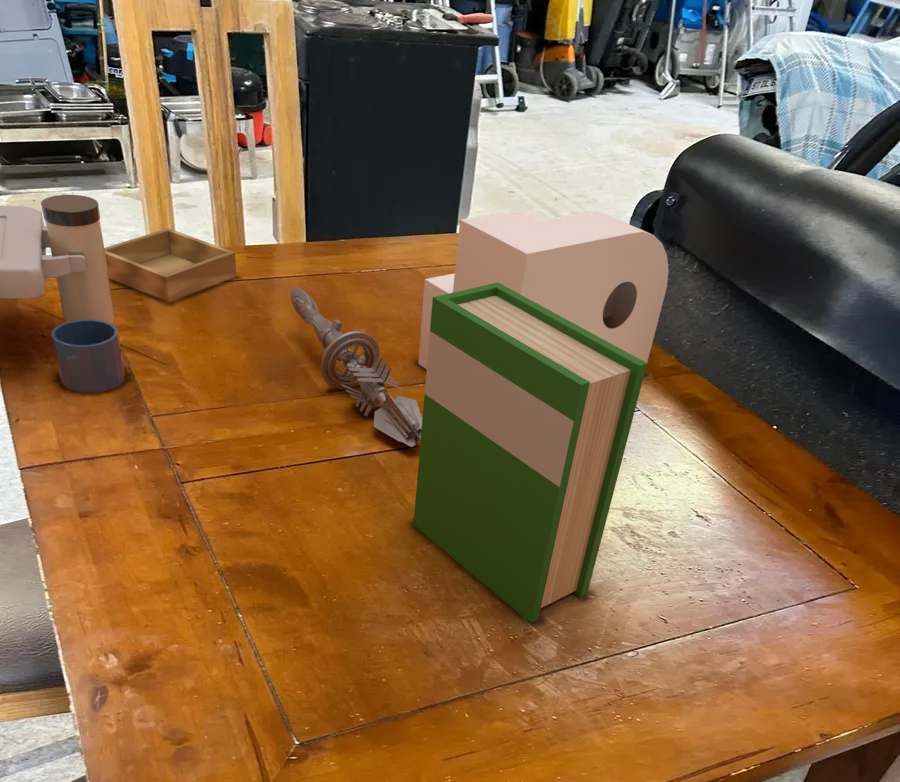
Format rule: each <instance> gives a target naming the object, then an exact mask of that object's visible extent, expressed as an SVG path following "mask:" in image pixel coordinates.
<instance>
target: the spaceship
mask: <svg viewBox="0 0 900 782" xmlns="http://www.w3.org/2000/svg"><path fill="white" fill-rule="evenodd" d="M290 300H291V304H292V306H293V309H294V310H295V312H296V313H297V314H298V315H299V317H300V318H301V319H302V320H303V321H304V323H305V324H310V325H311V326H312V328H313V330H314V332H315V334H316V337H317V340H318V341H319V342H320V343H321V349H320V350H321V354H322V357H321V362H320V373H321V376H322V378H323V380H324V382H325V383H326V384H327V385H328V386H330V387H332V388H333V389H337V390H345V391H346V392H347V393H349V396H350V397H351V398H353V399H355V400H356V403H355V407H356V408H359V411H360V413H363V415H364V417H366V418H367V417H369V415H370V414H371V412H372V410H373V409H374V408H375V407H380V408H378V409H377V410H375V411H374V414H373V415H374V417H373V428H375V429H377V430H378V431H380V432H382V433H383V434H386V435H387V436H388V437H390V438H392V439H394V440H395V441H397V442H399V443H403V444H405V445H406V446H408V447H410V448H413V447H415V446H416V447H417V448H418V449H420V443H419V440H420V439H421V430H422V418H423V415H422V413H421V410H420V408H419V404H418V401H417V399H414V398H409V397H405V396H401V395H399V396H397V397H395V398H393V397H392V396H391V394H389V393H388V390H387V387H386V385H387V384H388V385H390V386H393V387H394V388H397V389H399V390H401V391H404V389H403V387H401V386H400V383H398V382H396V379H395V378H394V377H392V376H390V373H391V371H392V368H391V366H387V364H388V363H387V362H386V361H382V360H383V357H382V356H381V355H380V354H381V353H380V346H379V344H378V341H377V340H376V338H375V337H374V336H373V335H371V334H370V333H368V332H366V331H361V330H352V331H347V332H345V333H343V332H342V331H341V329H342V327H343V323H342V322H341V320H339V319H333V321H331V320H329V319H327V318H325V317H324V316H323V315H322V314H321V313H320V311H319V308H318V306H317V303H316V302H315V300H314V298H312V297H311V295H310V294H309V292H307V291H306V290H305V289H304V288H301V287H300V286H299V287H298V286H295V287H293V288H292V289H291V291H290ZM352 347H354V348H353V349H352V350H353V351H352V350H351V348H352ZM359 347H360V348H362V349H363V351H362V352H361V353H359V354H357V353H358V350H359ZM337 361H338V362H342V364H340V365H339V366H337V367H336V365H337ZM385 368H386V369H385ZM342 370H344V371H343V372H342V373H340V371H342ZM357 387H360V389H361V390H360V391H359V390H357V389H356V388H357ZM354 388H355V389H354Z"/></svg>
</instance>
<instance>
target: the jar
mask: <svg viewBox="0 0 900 782" xmlns="http://www.w3.org/2000/svg"><path fill="white" fill-rule="evenodd" d="M40 206H41V213H42V216H43V220H44V223H45V226H46V228H47V233H48V238H49V243H50V248H49V249H50V253H51V254H50V255H52V256H53V257H56V256H64V255H69V253H80V252H82V253H84V254H85V257H86V263H87V270H86V271H85V272H71V273H69V274H66V275H63V276H59V277H56V278H55V280H56V285H57V291H58V294H59V301H60V306H61V307H60V308H61V312H62V316H63V321H64V323H66V322H69V321H74V320H81V319H93V320H100V321H105V322H108V323H110V324H112V323H113V322H114V321H115V318H116V317H115V311H114V304H113V298H112V292H111V285H110V284H111V283H110V278H109V277H108V270H107V264H106V257H105V251H104V248H105V244H104V238H103V230H102V225H101V211H100V205H99V202H98V200H96V199H95V198H92V197H90V196H86V195H81V194H58V195H52V196H48V197H46V198H44V199H43V200H41V202H40Z"/></svg>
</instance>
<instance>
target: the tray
mask: <svg viewBox="0 0 900 782" xmlns="http://www.w3.org/2000/svg"><path fill="white" fill-rule="evenodd" d="M104 251H105V257H106V264H107V270H108V277H109V280H113V281H115V282H117V283H120V284H122V285H125V286H128V287H130V288H132V289H134V290H137V291H140V292H143V293H145V294H147V295H149V296H151V297H155V298H157V299H160V300H162V301H165V302H167V303H171V302H173V301H176V300H178V299H181V298H183V297H186V296H189V295H192V294H194V293H197V292H200V291H202V290H205V289H207V288H210V287H212V286H215V285H218V284H220V283H223V282H225V281H228V280H231V279H233V278H235V277H237V264H236V252H235V251H232V250H230V249H226V248H224V247H221V246H219V245H215V244H212V243H210V242H207V241H205V240H202V239H199V238H197V237H193V236H191V235H188V234H186V233H183V232H180V231H177V230H175V229H171V228H169V227H168V228H164V229H161V230H158V231H155V232H152V233H148V234H145V235H142V236H138V237H135V238H132V239H129V240H126V241H122V242H119V243H116V244H113V245H109V246H107V247H104Z"/></svg>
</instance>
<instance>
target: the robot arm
mask: <svg viewBox="0 0 900 782" xmlns="http://www.w3.org/2000/svg"><path fill="white" fill-rule="evenodd" d="M48 248H49V249H50V243H49V238H48V233H47V228H46V225H45V220H44V217H43V212H42V211H41V210H38V209H35V208H32V207H27V206H16V205H15V206H14V205H0V299H3V300H4V299H8V300H34V299H38V298H39V299H40V298H42V297H44V296H46V291H47V279H51V278H55V279H56V277H59V276H63V275H66V274H69V273H71V272H85V271H86V270H87V263H86V257H85V254H84V253H82V252H80V253H69V255H64V256H56V257H53V256H52V254H47V249H48Z"/></svg>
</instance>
